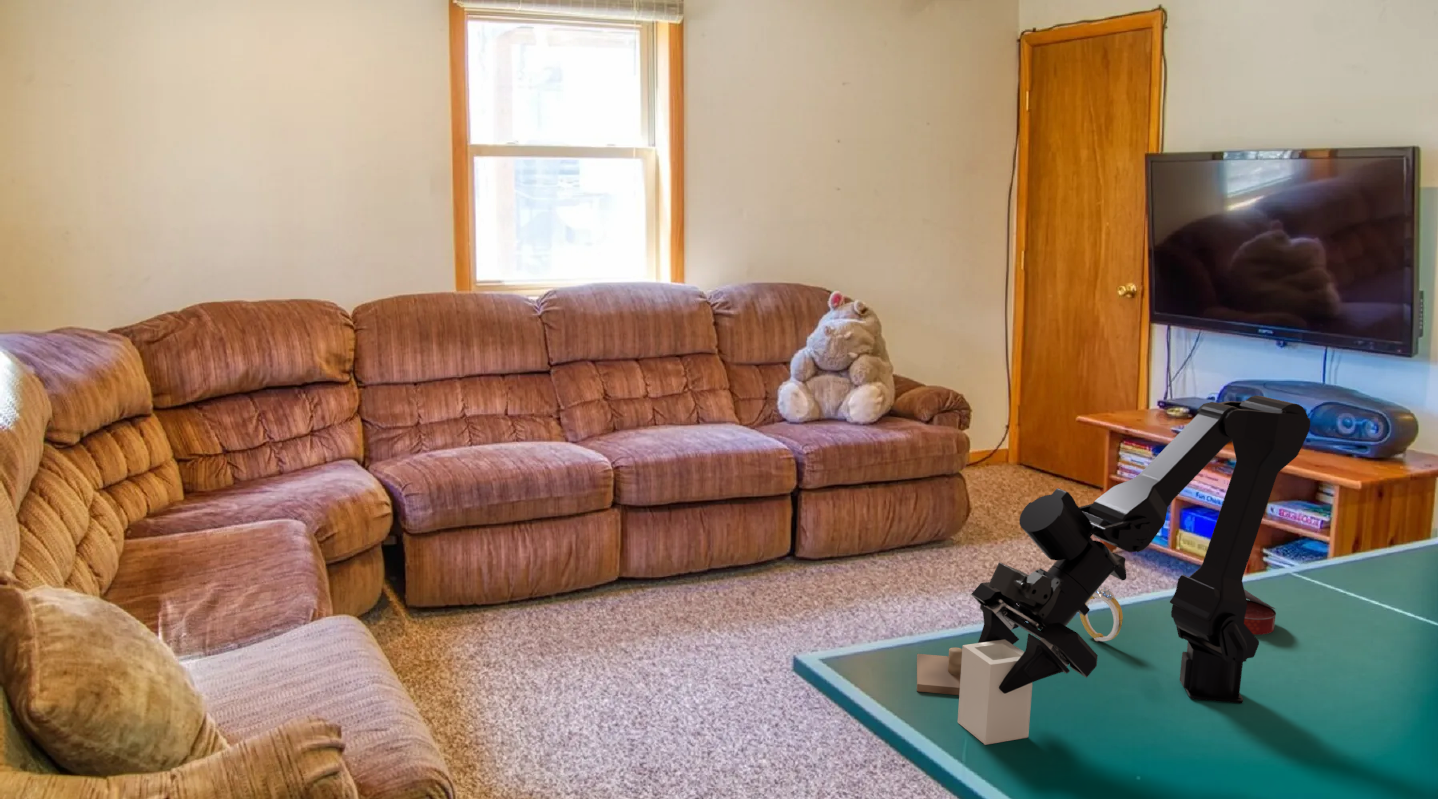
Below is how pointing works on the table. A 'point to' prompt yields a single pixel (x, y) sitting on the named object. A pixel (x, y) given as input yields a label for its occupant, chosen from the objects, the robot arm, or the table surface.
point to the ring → (1116, 611)
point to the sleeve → (992, 693)
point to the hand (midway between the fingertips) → (986, 680)
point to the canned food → (1259, 615)
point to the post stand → (939, 672)
